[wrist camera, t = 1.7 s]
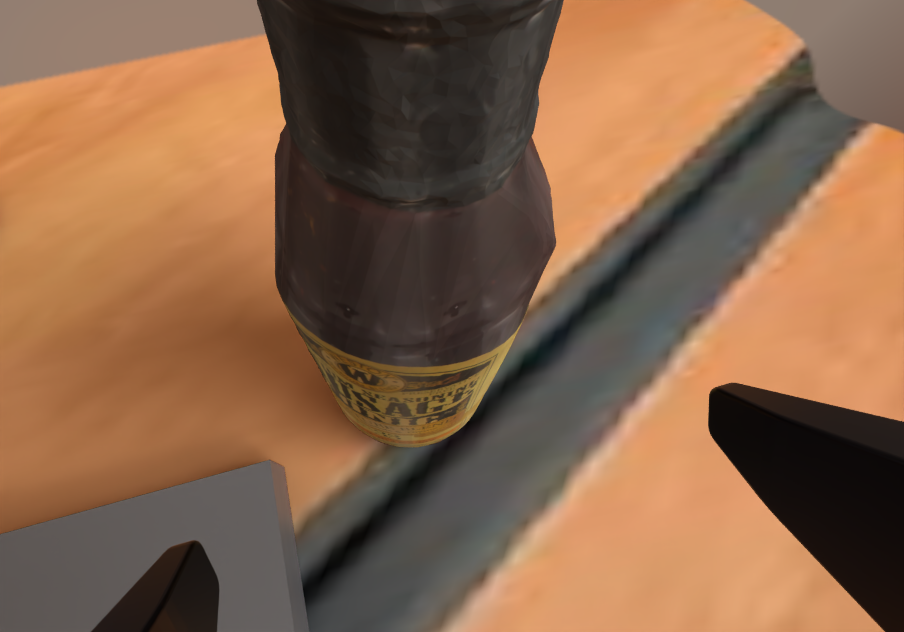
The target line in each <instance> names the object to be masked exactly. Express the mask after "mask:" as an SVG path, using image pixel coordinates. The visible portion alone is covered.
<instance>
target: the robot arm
mask: <svg viewBox="0 0 904 632" xmlns="http://www.w3.org/2000/svg"><path fill="white" fill-rule="evenodd" d="M708 427H709V431H710V434H711V436H712V438H713V439H714V441H715V442H716V443H717V445H718V446H719V447H720V448H721V450H722V451H723V452H724V454H725V455H726V456H727V457H728V459H729V460H730V461H731V462H732V464H733V465H734V466H735V467H736V469H737V470H738V471H739V473H740V474H741V475H742V476H743V478H744V479H745V480H746V481H747V483H748V484H749V485H750V487H751V488H752V489H753V490H754V492H755V493H756V494H757V495H758V497H759V498H760V499H761V500H762V501H763V503H764V504H765V505H766V506H767V507H768V509H769V510H770V511H771V512H772V513H773V514H774V515H775V516H776V517H777V519H778V520H779V521H780V522H781V523H782V524H783V525H784V526H785V527H786V528H787V529H788V530H789V531H790V532H791V533H792V534H793V535H794V536H795V538H796V539H797V540H798V541H799V542H800V543H801V544H802V545H803V546H804V547H805V548H806V549H807V550H808V551H809V552H810V553H811V554H812V555H813V556H814V558H815V559H816V560H817V561H818V562H819V563H820V564H821V565H822V566H823V567H824V568H825V569H826V570H827V571H828V572H829V573H830V574H831V575H832V577H833V578H834V579H835V580H836V581H837V582H838V583H839V584H840V585H841V586H842V587H843V588H844V589H845V590H846V591H847V592H848V593H849V594H850V595H851V597H852V598H853V599H854V600H855V601H856V602H857V603H858V604H859V605H860V606H861V607H862V608H863V609H864V610H865V611H866V612H867V613H868V614H869V615H870V617H871V618H872V619H873V620H874V621H875V622H876V623H877V624H878V625H879V626H880V627H881V628H882V629H883V630H884V631H885V632H904V422H902V421H898V420H894V419H889V418H885V417H881V416H876V415H872V414H868V413H863V412H859V411H855V410H850V409H846V408H842V407H838V406H833V405H829V404H825V403H820V402H816V401H812V400H807V399H803V398H799V397H794V396H790V395H786V394H782V393H777V392H773V391H769V390H764V389H760V388H756V387H751V386H747V385H743V384H738V383H729V384H725V385H722V386H718V387H715V388H713V389H712V390H711V392H710V394H709V417H708ZM218 608H219V581H218V577H217V575H216V573H215V570H214V568H213V566H212V564H211V562H210V560H209V558H208V556H207V554H206V552H205V550H204V548H203V546H202V544H201V543H200V542H199V541H196V540H191V541H188V542H185V543H181V544H178V545H174V546H172V547H170V548H168V549H167V550H166V551H165V552H164V553H163V554H162V555H161V556H160V557H159V558H158V559H157V561H156V562H155V563H154V564H153V565H152V566H151V567H150V568H149V569H148V570H147V571H146V572H145V573H144V575H143V576H142V577H141V578H140V579H139V580H138V581H137V582H136V583H135V584H134V585H133V586H132V588H131V589H130V590H129V591H128V592H127V593H126V594H125V595H124V596H123V597H122V598H121V599H120V600H119V602H118V603H117V604H116V605H115V606H114V607H113V608H112V609H111V610H110V611H109V612H108V613H107V615H106V616H105V617H104V618H103V619H102V620H101V621H100V622H99V623H98V624H97V625H96V626H95V628H94V629H93V630H92V631H91V632H217V624H218Z"/></svg>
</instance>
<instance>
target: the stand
mask: <svg viewBox="0 0 904 632" xmlns="http://www.w3.org/2000/svg"><path fill="white" fill-rule="evenodd" d="M191 540H196V541H199V542H200V543H201V544H202V546H203V548H204V550H205V552H206V554H207V556H208V558H209V560H210V562H211V564H212V566H213V568H214V570H215V573H216V575H217V577H218V581H219V608H218V624H217V632H309V626H308V620H307V613H306V607H305V600H304V594H303V587H302V580H301V574H300V567H299V561H298V554H297V548H296V541H295V535H294V528H293V522H292V515H291V508H290V502H289V495H288V489H287V482H286V476H285V469H284V467H283V466H281V465H279V464H277V463H275V462H273V461H271V460H267V461H264V462H260V463H257V464H253V465H249V466H246V467H242V468H239V469H235V470H231V471H228V472H224V473H220V474H217V475H213V476H210V477H206V478H202V479H199V480H195V481H191V482H188V483H184V484H181V485H177V486H173V487H170V488H166V489H162V490H159V491H155V492H152V493H148V494H144V495H141V496H137V497H133V498H130V499H126V500H123V501H119V502H115V503H112V504H108V505H104V506H101V507H97V508H94V509H90V510H86V511H83V512H79V513H75V514H72V515H68V516H65V517H61V518H57V519H54V520H50V521H46V522H43V523H39V524H36V525H32V526H28V527H25V528H21V529H18V530H14V531H10V532H7V533H3V534H0V632H91V631H92V630H93V629H94V628H95V626H96V625H97V624H98V623H99V622H100V621H101V620H102V619H103V618H104V617H105V616H106V615H107V613H108V612H109V611H110V610H111V609H112V608H113V607H114V606H115V605H116V604H117V603H118V602H119V600H120V599H121V598H122V597H123V596H124V595H125V594H126V593H127V592H128V591H129V590H130V589H131V588H132V586H133V585H134V584H135V583H136V582H137V581H138V580H139V579H140V578H141V577H142V576H143V575H144V573H145V572H146V571H147V570H148V569H149V568H150V567H151V566H152V565H153V564H154V563H155V562H156V561H157V559H158V558H159V557H160V556H161V555H162V554H163V553H164V552H165V551H166V550H167V549H168V548H170V547H172V546H174V545H178V544H181V543H185V542H188V541H191Z"/></svg>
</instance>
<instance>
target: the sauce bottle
mask: <svg viewBox="0 0 904 632" xmlns="http://www.w3.org/2000/svg"><path fill="white" fill-rule="evenodd" d="M257 4H258V7H259V10H260V13H261V16H262V20H263V23H264V27H265V32H266V35H267V38H268V42H269V45H270V49H271V53H272V56H273V59H274V62H275V65H276V68H277V71H278V78H279V82H280V95H281V105H282V108H283V113H284V118H285V120H286V125H285V127H284V129H283V131H282V132H281V133H280V141H279V143H278V146H277V150H276V154H275V277H276V284H277V288H278V290H279V293H280V295H281V298H282V300H283V302H284V304H285V306H286V308H287V310H288V312H289V314H290V316H291V318H292V320H293V321H294V323H295V325H296V327H297V329H298V331H299V334H300V335H301V336H302V338H303V339H304V341H305V343H306V345H307V347H308V350H309V352H310V353H311V355H312V357H313V358H314V360H315V362H316V363H317V365H318V368H319V369H320V371H321V373H322V375H323V377H324V379H325V381H326V382H327V383H328V385H329V387H330V389H331V391H332V393H333V395H334V397H335V399H336V400H337V402H338V404H339V406H340V408H341V409H342V411H343V413H344V414H345V415H346V417H347V418H348V419H349V420H350V421H351V422H352V423H353V424H354V425H355V426H356V427H357V428H358V429H359V430H361V431H362V432H363V433H365V434H366V435H368V436H370V437H372V438H374V439H376V440H378V441H379V442H382V443H384V444H390V445H393V446H397V447H420V446H425V445H431V444H435V443H438V442H440V441H441V440H443V439H445V438H447V437H449V436H450V435H452V434H453V433H455V432H456V431H458V430H459V429H460V428H462V427H463V426H464V425H465V424H466V423H467V422H468V421H469V419H470V418H471V417H472V415H473V414H474V412H475V411H476V409H477V407H478V405H479V403H480V402H481V400H482V398H483V396H484V394H485V392H486V391H487V389H488V387H489V385H490V384H491V382H492V380H493V378H494V377H495V375H496V373H497V371H498V369H499V367H500V366H501V364H502V362H503V360H504V358H505V356H506V354H507V352H508V351H509V349H510V347H511V345H512V342H513V340H514V338H515V336H516V334H517V332H518V330H519V328H520V326H521V324H522V321H523V319H524V316H525V314H526V312H527V309H528V306H529V302H530V300H531V298H532V295H533V293H534V291H535V289H536V287H537V284H538V282H539V280H540V278H541V275H542V273H543V271H544V269H545V267H546V265H547V263H548V261H549V259H550V257H551V255H552V253H553V251H554V249H555V246H556V238H555V232H554V222H553V211H552V198H551V194H550V193H551V188H550V185H549V182H548V179H547V176H546V173H545V169H544V167H543V165H542V163H541V160H540V158H539V155H538V152H537V150H536V147H535V144H534V142H533V139H532V137H531V136H532V134H533V131H534V127H535V122H536V117H537V112H538V106H539V97H538V89H539V84H540V80H541V77H542V74H543V71H544V69H545V66H546V63H547V60H548V58H549V51H550V47H551V44H552V40H553V36H554V33H555V29H556V26H557V22H558V19H559V16H560V14H561V9H562V5H563V0H257Z"/></svg>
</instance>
